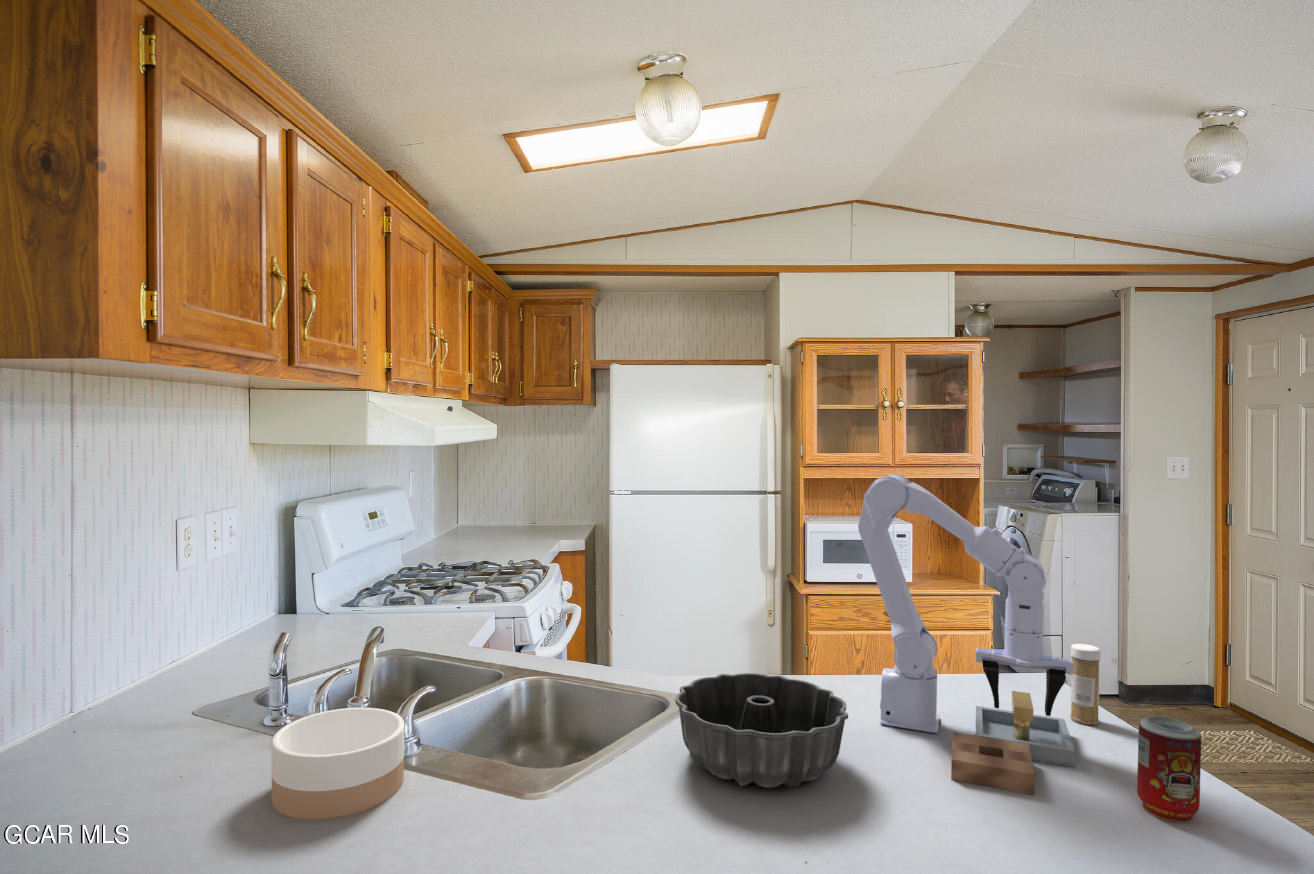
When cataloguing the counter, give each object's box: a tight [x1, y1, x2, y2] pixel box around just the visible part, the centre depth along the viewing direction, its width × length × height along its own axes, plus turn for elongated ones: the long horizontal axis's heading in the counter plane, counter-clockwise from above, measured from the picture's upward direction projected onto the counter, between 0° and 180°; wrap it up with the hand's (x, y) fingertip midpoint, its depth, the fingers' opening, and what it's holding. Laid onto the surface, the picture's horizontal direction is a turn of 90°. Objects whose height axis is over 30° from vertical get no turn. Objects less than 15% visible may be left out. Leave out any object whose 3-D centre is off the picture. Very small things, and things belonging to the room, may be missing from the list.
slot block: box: [950, 731, 1035, 796], centre depth 112 cm, size 11×11×3 cm
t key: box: [1011, 690, 1034, 741], centre depth 123 cm, size 8×3×7 cm, turn 157°
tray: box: [975, 705, 1076, 768], centre depth 123 cm, size 14×14×2 cm
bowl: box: [270, 707, 405, 821], centre depth 104 cm, size 17×17×8 cm
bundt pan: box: [674, 672, 849, 789], centre depth 114 cm, size 26×26×10 cm
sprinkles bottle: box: [1069, 643, 1101, 726], centre depth 133 cm, size 5×5×14 cm
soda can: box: [1136, 715, 1202, 824], centre depth 101 cm, size 7×7×12 cm
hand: (1021, 710), depth 123 cm, fingers open, 7 cm apart
